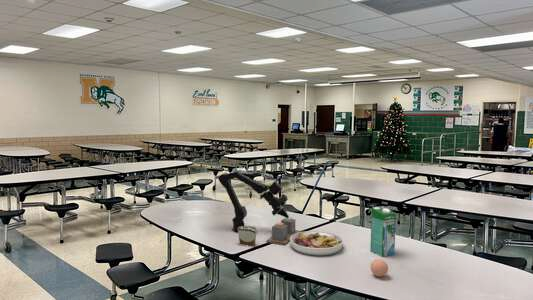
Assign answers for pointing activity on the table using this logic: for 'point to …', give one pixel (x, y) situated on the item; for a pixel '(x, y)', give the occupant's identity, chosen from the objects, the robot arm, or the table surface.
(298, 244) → the bowl
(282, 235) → the button posts
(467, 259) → the table surface
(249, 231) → the food container
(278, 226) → the terracotta button
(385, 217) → the milk carton
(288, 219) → the sage button
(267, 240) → the walnut board
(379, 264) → the toy ball
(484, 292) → the table surface
